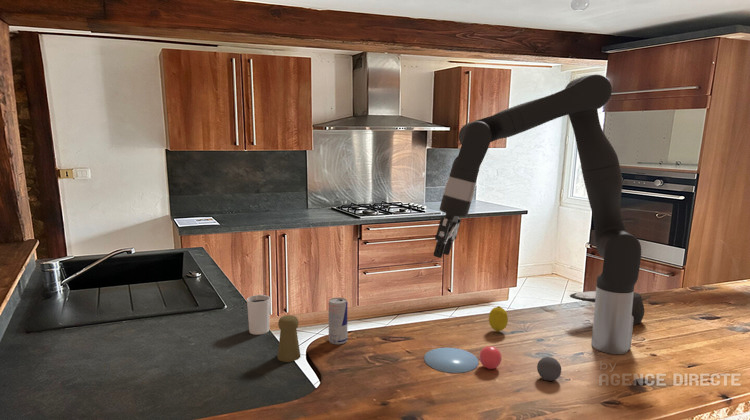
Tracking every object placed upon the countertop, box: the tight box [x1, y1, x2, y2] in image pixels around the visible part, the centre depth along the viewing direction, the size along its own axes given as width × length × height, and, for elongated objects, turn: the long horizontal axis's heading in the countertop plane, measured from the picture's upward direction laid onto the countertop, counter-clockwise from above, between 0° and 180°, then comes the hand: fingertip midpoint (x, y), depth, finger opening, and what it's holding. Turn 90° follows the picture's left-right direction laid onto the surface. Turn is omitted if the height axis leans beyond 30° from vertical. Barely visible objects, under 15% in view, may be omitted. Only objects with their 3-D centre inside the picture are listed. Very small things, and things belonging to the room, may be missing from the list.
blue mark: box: [423, 347, 479, 374], centre depth 125 cm, size 14×14×1 cm
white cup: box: [246, 294, 271, 336], centre depth 142 cm, size 7×7×10 cm
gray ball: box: [536, 356, 562, 382], centre depth 115 cm, size 6×6×6 cm
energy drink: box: [328, 297, 348, 346], centre depth 135 cm, size 5×5×12 cm
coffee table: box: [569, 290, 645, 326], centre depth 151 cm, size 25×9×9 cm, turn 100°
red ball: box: [478, 345, 502, 370], centre depth 120 cm, size 6×6×6 cm
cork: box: [276, 314, 301, 363], centre depth 125 cm, size 6×6×11 cm
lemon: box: [488, 305, 509, 333], centre depth 143 cm, size 6×6×8 cm
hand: (441, 255), depth 127 cm, fingers open, 8 cm apart
